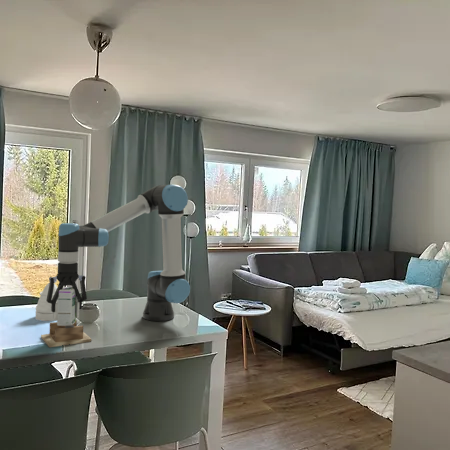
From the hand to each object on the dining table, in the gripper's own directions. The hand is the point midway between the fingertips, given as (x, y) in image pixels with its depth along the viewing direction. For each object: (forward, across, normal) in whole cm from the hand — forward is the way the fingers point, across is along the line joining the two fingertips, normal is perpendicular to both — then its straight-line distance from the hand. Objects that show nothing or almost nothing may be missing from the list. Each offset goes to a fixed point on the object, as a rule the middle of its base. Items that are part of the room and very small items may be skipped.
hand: (66, 318), depth 174 cm
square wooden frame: (+8, 0, 0) cm, 8 cm away
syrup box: (+2, 0, 0) cm, 2 cm away
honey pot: (+9, -2, -36) cm, 37 cm away
